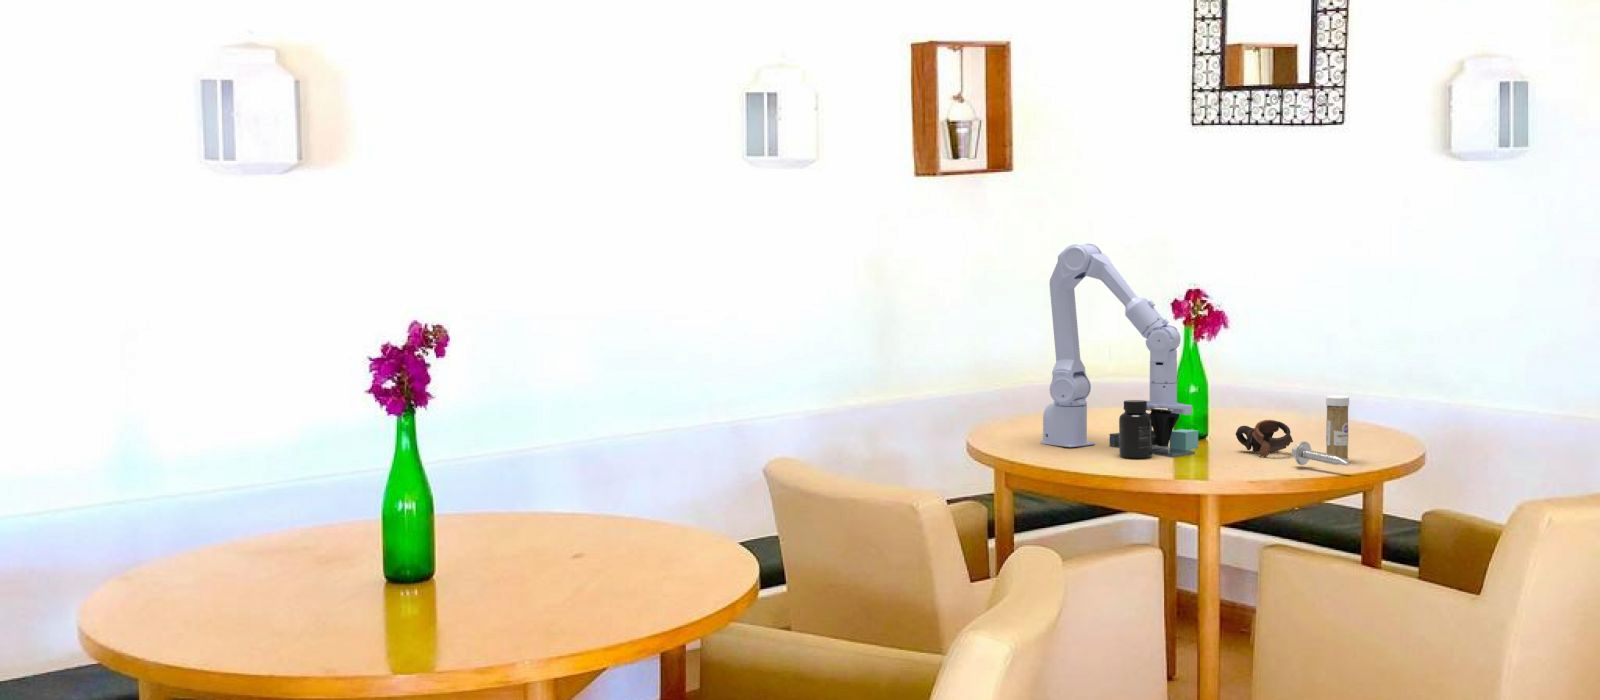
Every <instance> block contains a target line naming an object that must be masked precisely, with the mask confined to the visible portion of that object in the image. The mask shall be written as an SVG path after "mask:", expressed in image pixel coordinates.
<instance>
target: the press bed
mask: <svg viewBox="0 0 1600 700" xmlns="http://www.w3.org/2000/svg"><path fill="white" fill-rule="evenodd" d="M1109 447H1112V448H1116V449H1119V432H1113V433H1109ZM1195 453H1196V451H1194V450H1180V449H1172V448H1170V447H1168V448H1160V449H1152V455H1156V456H1162V457H1165V458H1166V457H1167V458H1172V459H1173V458H1180V457H1184V456H1185V455H1186V456H1190V455H1191V456H1192V455H1195Z"/></svg>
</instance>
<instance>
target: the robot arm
mask: <svg viewBox="0 0 1600 700" xmlns="http://www.w3.org/2000/svg"><path fill="white" fill-rule="evenodd" d="M1085 277H1086V278H1087V277H1088V278H1092V279H1096V280H1099V281H1101V282H1102V283H1103V284H1104V286H1105V287H1106V288H1108V289H1109V291H1110V292H1111V293H1112V294H1113V295H1114V296H1115V297H1116V298H1117V300H1118V301H1120V303H1122V305H1124V308H1125V309H1124V310H1125V311H1124V313H1125V315H1124V316H1125V317H1126V318H1127V319H1128V320H1129V322H1130V323H1131V324H1132V326H1134V327H1135V329H1136V330H1137V331H1138V332H1139V334H1140V335H1141V336H1142V337H1143V338H1145V339H1146V340H1145V345H1146V348H1147V350H1148V351H1149V359H1150V360H1149V400H1146V401H1147V410H1146V411H1149V412H1150V413H1148V414H1149V415H1150V416H1151V418H1152V430H1154V433H1155V437H1156V441H1157V445H1158V446H1168V447H1169V445H1170V437H1171V433H1172V431H1174V427H1175V425H1176V423H1177V421H1178V420H1179V419H1180V415H1184V416H1189V415H1193V404H1191V405H1190V404H1186V403H1185V404H1184V403H1179V402H1178V350H1177V349H1178V347H1180V344H1181V335H1180V332H1179V331H1178V328H1177V327H1176V326H1174V325H1171V324H1169V323H1170V322H1169V320H1168V319H1167V318H1165V319H1164V318H1163V316H1161V315H1162V314H1160V313H1159V312H1158V310H1156V308H1155V305H1156V304H1155V303H1154V301H1153V300H1148V299H1147V297H1146V298H1145V297H1138V295H1136V293H1135V292H1134V290H1133V289H1132V287H1130V285H1129V284H1128V283H1127V281H1126V280H1125V278H1124V277H1123V275H1121V273H1120V272H1119V271H1118V269H1117V268H1116V267H1115V266H1114V264H1113V263H1112V262H1111V259H1110V258H1109V257H1108V256H1107V255H1106V254H1105V253H1103V252H1102V250H1101V249H1100V247H1098V246H1097V245H1096V244H1093V243H1085V244H1077V243H1076V244H1075V243H1074V244H1070V245H1069V246H1067V247H1065V249H1064V250H1063V251H1061V252H1060V253H1059V254H1058V255H1057V263H1056V264H1055V267H1054V268H1053V272H1052V273H1051V277H1050V279H1049V295H1050V296H1049V297H1050V306H1051V316H1052V331H1053V337H1054V338H1053V339H1054V341H1053V342H1054V349H1055V350H1054V351H1055V361H1056V362H1055V364H1054V367H1053V369H1052V375H1051V376H1052V377H1051V378H1052V380H1051V381H1050V385H1049V394H1050V397H1051V398H1052V400H1053V403H1049V405H1047V406H1046V407H1045V409H1044V411H1043V416H1042V441H1041V440H1040V444H1042V445H1048V446H1049V445H1050V446H1056V447H1064V448H1075V447H1086V446H1094V445H1096V442H1094V441H1088V436H1087V435H1088V422H1087V421H1088V405H1087V404H1088V402H1087V398H1088V397H1089V395H1090V393H1091V390H1092V385H1091V382H1090V379H1089V378H1088V376H1087V373H1086V366H1085V365H1084V363H1083V361H1082V359H1081V351H1080V350H1081V349H1080V339H1079V328H1078V327H1079V326H1078V315H1077V305H1076V293H1075V288H1076V287H1077V286H1078V285H1079V284H1080V283H1081V282H1082V281H1083V280H1084V278H1085Z"/></svg>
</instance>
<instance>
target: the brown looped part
mask: <svg viewBox="0 0 1600 700" xmlns="http://www.w3.org/2000/svg"><path fill="white" fill-rule="evenodd" d="M1280 429H1281V430H1282V431H1283V433H1284V434H1285V435H1283V436H1280V437H1273V436H1274V434H1275V433H1277V432H1278V431H1279V430H1280ZM1235 437H1236V439H1237V440H1238V442H1239V443H1240V444H1241V445H1243V446H1245V448H1246V450H1247V451H1250V450H1251V449H1252V452H1256V451H1257V450H1258V454H1259V455H1260V456H1261V457H1264V458H1266V457H1267V456H1268V455H1269V453H1270V454H1271V453H1275V452H1279V451H1281V450H1284V449H1287V447H1289V446H1290V445H1291V443H1293V442H1294V440H1293V437H1292V435H1291V430H1290V427H1289V426H1288V425H1287V424H1286V423H1284V422H1282V421H1277V420H1274V419H1264V420H1260V421H1259V422H1257V423H1256V425H1255V426H1254V427H1250V426H1248V425H1240V426H1239V427H1238V428H1237V429H1236V432H1235ZM1278 450H1279V451H1278Z"/></svg>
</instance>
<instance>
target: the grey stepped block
mask: <svg viewBox="0 0 1600 700" xmlns="http://www.w3.org/2000/svg"><path fill="white" fill-rule="evenodd" d="M1160 448H1169V445H1168V446H1158V445H1157V441H1156V437H1155V433H1154V430H1153V429H1152V449H1160Z"/></svg>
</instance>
